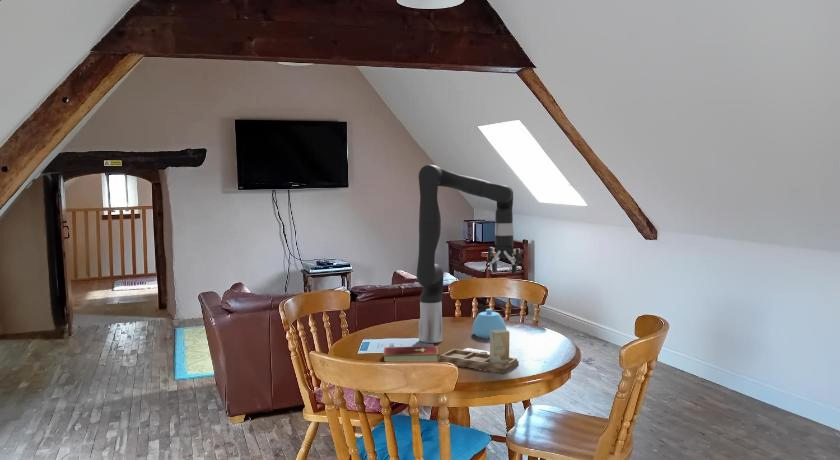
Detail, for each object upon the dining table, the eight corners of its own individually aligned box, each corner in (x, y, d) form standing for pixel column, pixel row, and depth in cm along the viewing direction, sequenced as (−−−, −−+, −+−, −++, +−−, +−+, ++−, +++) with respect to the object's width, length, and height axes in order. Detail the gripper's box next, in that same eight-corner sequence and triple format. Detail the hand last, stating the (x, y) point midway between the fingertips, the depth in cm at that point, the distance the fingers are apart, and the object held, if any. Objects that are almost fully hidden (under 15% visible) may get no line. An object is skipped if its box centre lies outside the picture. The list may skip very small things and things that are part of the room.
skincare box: (493, 365, 232) (493, 332, 231) (489, 362, 236) (489, 330, 235) (510, 364, 233) (510, 331, 232) (505, 360, 238) (505, 328, 237)
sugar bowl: (508, 339, 275) (508, 312, 274) (473, 339, 275) (473, 313, 274) (504, 330, 290) (504, 305, 289) (471, 331, 290) (471, 306, 289)
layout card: (458, 353, 254) (458, 351, 254) (467, 349, 260) (467, 347, 260) (485, 357, 247) (485, 355, 247) (493, 353, 253) (493, 351, 253)
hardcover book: (384, 356, 253) (384, 346, 253) (437, 355, 254) (437, 345, 253) (383, 365, 241) (383, 354, 241) (438, 364, 242) (438, 353, 241)
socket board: (438, 363, 242) (438, 356, 241) (455, 354, 252) (455, 348, 252) (503, 374, 227) (503, 366, 226) (518, 364, 238) (518, 357, 237)
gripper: (484, 234, 263) (484, 273, 265) (516, 235, 255) (516, 275, 257) (492, 232, 270) (493, 270, 271) (523, 233, 262) (524, 272, 263)
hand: (504, 273), depth 264 cm, fingers open, 8 cm apart
